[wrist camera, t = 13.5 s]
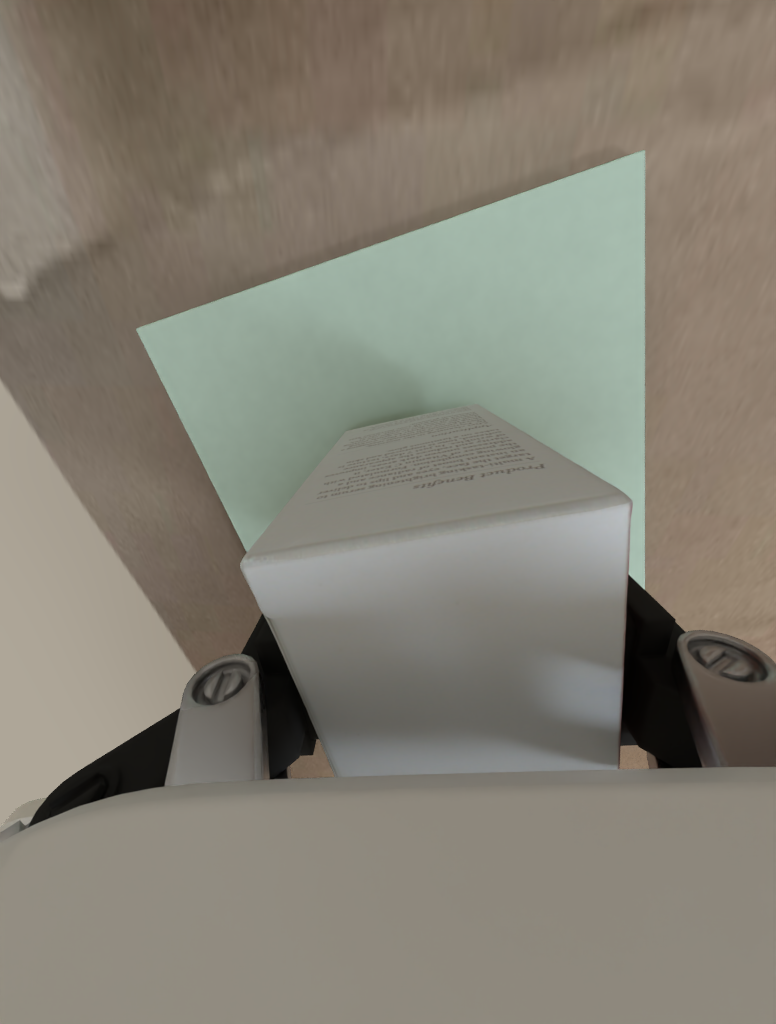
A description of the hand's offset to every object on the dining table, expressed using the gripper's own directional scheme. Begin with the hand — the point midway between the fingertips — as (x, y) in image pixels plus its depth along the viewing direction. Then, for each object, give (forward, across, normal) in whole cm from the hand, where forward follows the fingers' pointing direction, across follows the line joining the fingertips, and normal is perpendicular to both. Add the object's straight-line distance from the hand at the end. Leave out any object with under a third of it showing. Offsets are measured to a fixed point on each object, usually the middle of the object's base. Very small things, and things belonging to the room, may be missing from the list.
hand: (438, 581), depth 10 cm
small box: (+6, 0, 0) cm, 6 cm away
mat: (+8, 0, 0) cm, 8 cm away
